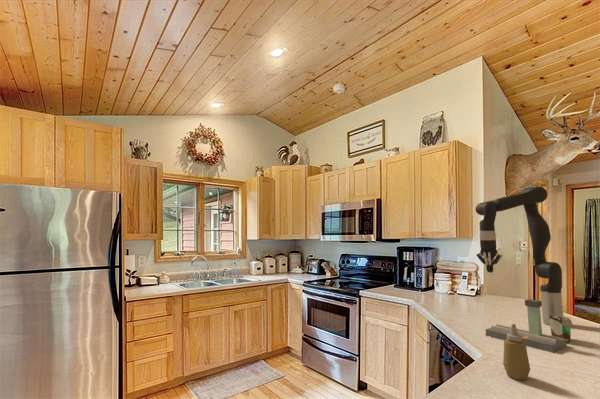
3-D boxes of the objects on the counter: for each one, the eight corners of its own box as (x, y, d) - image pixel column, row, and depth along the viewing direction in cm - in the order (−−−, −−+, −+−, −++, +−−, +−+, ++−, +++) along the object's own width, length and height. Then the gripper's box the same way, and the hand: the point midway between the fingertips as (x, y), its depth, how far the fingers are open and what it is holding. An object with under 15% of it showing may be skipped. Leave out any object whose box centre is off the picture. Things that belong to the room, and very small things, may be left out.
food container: (580, 344, 149) (578, 321, 150) (564, 343, 151) (562, 321, 151) (564, 336, 161) (562, 314, 162) (550, 335, 163) (548, 314, 164)
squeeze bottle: (498, 372, 121) (495, 321, 123) (519, 371, 122) (515, 320, 124) (514, 382, 113) (510, 328, 115) (537, 381, 114) (532, 327, 116)
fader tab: (531, 333, 155) (529, 299, 157) (544, 336, 151) (541, 300, 152) (527, 335, 153) (524, 300, 154) (539, 338, 149) (537, 302, 150)
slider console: (500, 330, 171) (500, 322, 172) (566, 346, 148) (566, 336, 148) (485, 335, 164) (485, 326, 164) (553, 352, 140) (552, 342, 141)
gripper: (504, 239, 176) (506, 272, 174) (479, 239, 187) (481, 270, 185) (496, 239, 172) (499, 274, 170) (471, 239, 183) (473, 271, 181)
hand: (490, 272), depth 178 cm, fingers closed
